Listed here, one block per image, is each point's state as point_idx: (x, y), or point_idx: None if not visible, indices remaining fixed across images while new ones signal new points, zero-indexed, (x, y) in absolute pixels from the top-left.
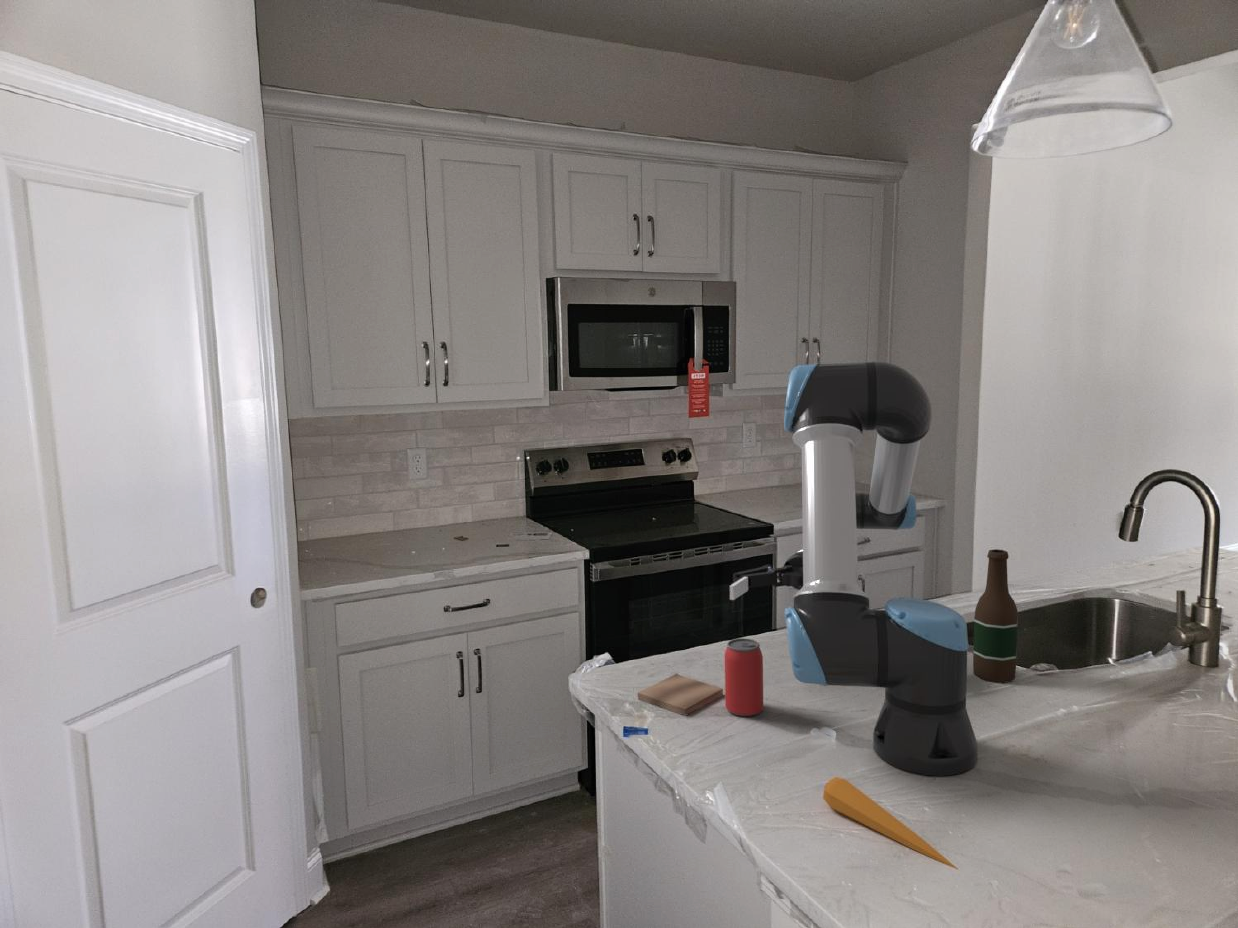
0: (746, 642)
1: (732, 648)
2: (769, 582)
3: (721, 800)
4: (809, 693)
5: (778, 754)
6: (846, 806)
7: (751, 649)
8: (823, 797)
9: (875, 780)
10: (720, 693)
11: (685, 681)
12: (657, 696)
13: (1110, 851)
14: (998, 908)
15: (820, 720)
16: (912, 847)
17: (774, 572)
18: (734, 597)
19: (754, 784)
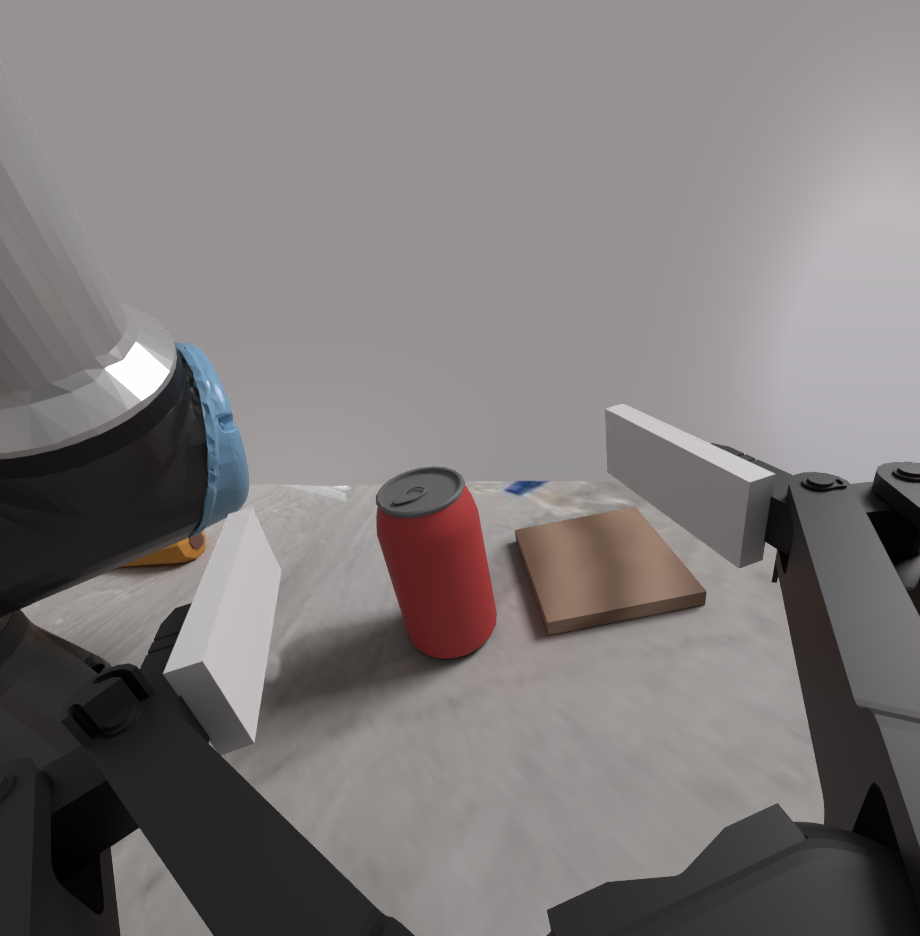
0: (428, 504)
1: (424, 468)
2: (818, 732)
3: (326, 490)
4: (365, 848)
5: (306, 573)
6: None
7: (382, 487)
8: (204, 534)
9: (134, 623)
10: (545, 622)
11: (641, 584)
12: (597, 521)
13: None
14: None
15: (272, 715)
16: None
17: (860, 721)
18: (612, 466)
19: (306, 520)
